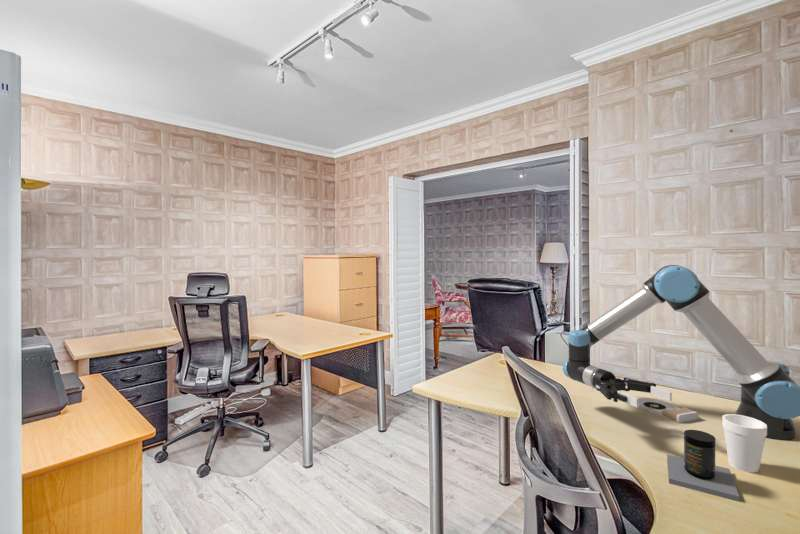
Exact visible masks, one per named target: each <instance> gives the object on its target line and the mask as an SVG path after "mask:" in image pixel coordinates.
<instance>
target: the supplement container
mask: <svg viewBox="0 0 800 534" xmlns="http://www.w3.org/2000/svg"><path fill="white" fill-rule="evenodd" d="M683 431H684V432H683V450H684V451H683V458H684V468H685V470H686V471H687V472H688V473H689V474H690V475H692V476H694V477H697V478H700V479H706V480H709V479H713V478H714V477H715V466H716V452H717V451H716V450H717V449H716V446H717V444H716V443H717V439H716V437H715V436H714V435H713V434H710V433H709V432H706V431H703V430H697V429H685V430H683Z"/></svg>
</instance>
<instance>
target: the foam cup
mask: <svg viewBox="0 0 800 534" xmlns="http://www.w3.org/2000/svg"><path fill="white" fill-rule="evenodd" d="M721 417H722V418H721V419H722V420H721V424H722V428H723V434H724V440H725V448H726V452H727V454H726V455H727V460H728V464H729V465H730V466H731V467H732V468H734V469H737V470H739V471H741V472H742V471H743V472H746V473H755V474H756V473H757V472H759V470H760V466H761V461H762V457H763V451H764V447H765V442H766V441H765V440H766V438H767V437H766V436H767V425H766V424H765V423H763V422H762V421H760V420H757V419H755V418H751V417H747V416H743V415H736V414H735V413H731V414H730V413H726V414H723V415H721Z"/></svg>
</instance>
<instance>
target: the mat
mask: <svg viewBox="0 0 800 534" xmlns="http://www.w3.org/2000/svg"><path fill="white" fill-rule="evenodd" d="M666 460H667V463H666V464H667V475H668V476H667V477H668V484H671V485H676V486H679V487H684V488H687V489H691V490H693V491H698V492H703V493H705V494H710V495H713V496H717V497H722V498H725V499H729V500H733V501H736V502H740V495H739V492H738V489H737V487H736V484H735V483H736V482H735V481H734V478H733V476H732V475H733V474H732V473H731V470H730V468H728V467H723V466H720V465H715V477H714V478H713V479H709V480H706V479H700V478H697V477H694V476H692V475H690V474H689V473H688V472H687V471H686V470H685V468H684V457H679V456H676V455H675V456H674V455H671V454H666Z"/></svg>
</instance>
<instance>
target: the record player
mask: <svg viewBox="0 0 800 534" xmlns="http://www.w3.org/2000/svg"><path fill="white" fill-rule="evenodd" d="M638 408H640V409H644V410H645V411H647V412H650V413H651V414H654V415H658V416H662V417H665V418H667V419H670V420H672V421H675V422H676V423H679V424H680V423H681V424H682V423H688V422H693V421H697V420H699V418H700V416H699V412H698V411H695V410H692V409H690V408H687V407H684V406H681V408H680V407H679V406H677V405H674V404H671V403H670V402H666V401H664V400H661V399H658V398H652V397H650V398H649V397H639V407H638Z"/></svg>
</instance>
